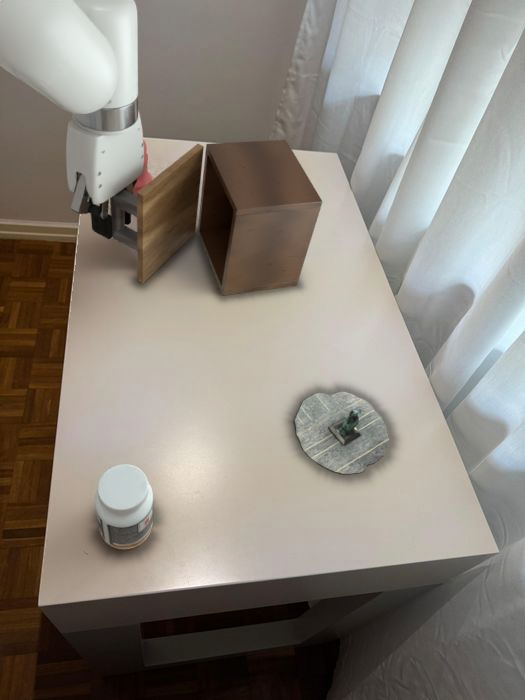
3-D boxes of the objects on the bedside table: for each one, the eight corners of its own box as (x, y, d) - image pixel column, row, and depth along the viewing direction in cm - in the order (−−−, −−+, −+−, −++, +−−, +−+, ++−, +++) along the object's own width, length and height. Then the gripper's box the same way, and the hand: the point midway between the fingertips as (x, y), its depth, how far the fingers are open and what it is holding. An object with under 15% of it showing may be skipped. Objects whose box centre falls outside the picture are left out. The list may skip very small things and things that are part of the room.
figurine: (120, 182, 96) (117, 98, 84) (151, 185, 97) (153, 101, 85) (119, 202, 93) (116, 117, 81) (151, 204, 94) (152, 120, 82)
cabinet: (222, 295, 84) (236, 209, 72) (197, 232, 92) (206, 143, 79) (297, 285, 88) (322, 201, 76) (267, 224, 96) (285, 139, 83)
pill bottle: (162, 513, 63) (165, 474, 55) (134, 560, 60) (133, 526, 52) (117, 490, 64) (114, 448, 56) (87, 535, 60) (79, 498, 53)
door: (103, 262, 84) (97, 172, 72) (159, 214, 92) (162, 126, 80) (142, 283, 83) (143, 195, 71) (195, 233, 91) (203, 146, 79)
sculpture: (395, 414, 77) (405, 423, 69) (365, 475, 77) (372, 491, 69) (314, 375, 78) (315, 379, 70) (285, 435, 78) (282, 446, 70)
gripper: (125, 69, 73) (128, 188, 87) (28, 120, 63) (49, 245, 77) (173, 93, 71) (168, 210, 85) (81, 149, 61) (93, 271, 76)
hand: (111, 226), depth 81 cm, fingers open, 3 cm apart
